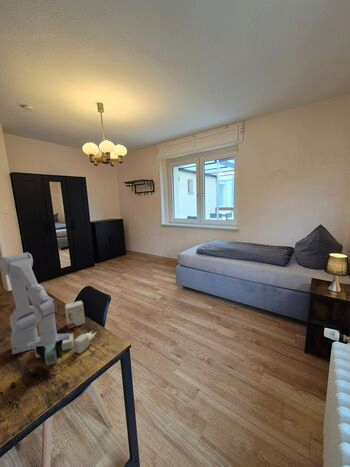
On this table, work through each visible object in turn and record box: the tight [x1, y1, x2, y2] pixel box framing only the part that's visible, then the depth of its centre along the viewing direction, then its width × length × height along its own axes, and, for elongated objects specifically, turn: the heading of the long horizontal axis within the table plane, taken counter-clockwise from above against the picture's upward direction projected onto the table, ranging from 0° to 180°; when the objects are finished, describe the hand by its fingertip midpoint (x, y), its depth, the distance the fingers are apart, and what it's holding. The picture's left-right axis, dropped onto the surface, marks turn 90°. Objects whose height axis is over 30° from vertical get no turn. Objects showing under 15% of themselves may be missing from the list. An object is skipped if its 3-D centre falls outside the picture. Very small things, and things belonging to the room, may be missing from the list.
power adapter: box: [73, 330, 98, 355], centre depth 91 cm, size 11×5×6 cm, turn 159°
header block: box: [34, 332, 75, 359], centre depth 89 cm, size 14×6×4 cm, turn 112°
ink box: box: [64, 300, 86, 330], centre depth 106 cm, size 9×5×12 cm, turn 125°
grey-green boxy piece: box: [45, 343, 59, 367], centre depth 84 cm, size 4×8×6 cm, turn 22°
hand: (52, 358), depth 81 cm, fingers closed on grey-green boxy piece, 4 cm apart
